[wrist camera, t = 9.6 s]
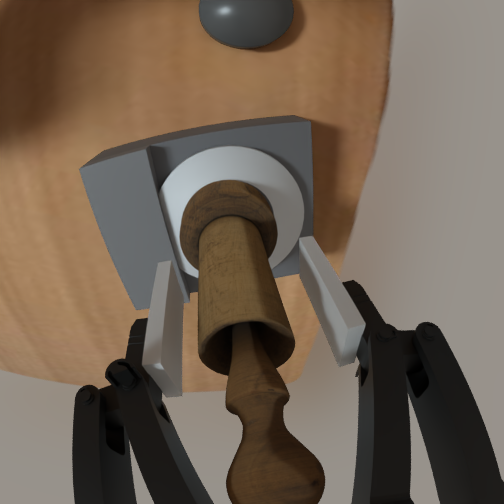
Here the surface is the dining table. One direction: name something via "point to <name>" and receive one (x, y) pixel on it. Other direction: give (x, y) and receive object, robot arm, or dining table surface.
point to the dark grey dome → (245, 21)
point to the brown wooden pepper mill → (247, 339)
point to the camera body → (188, 183)
